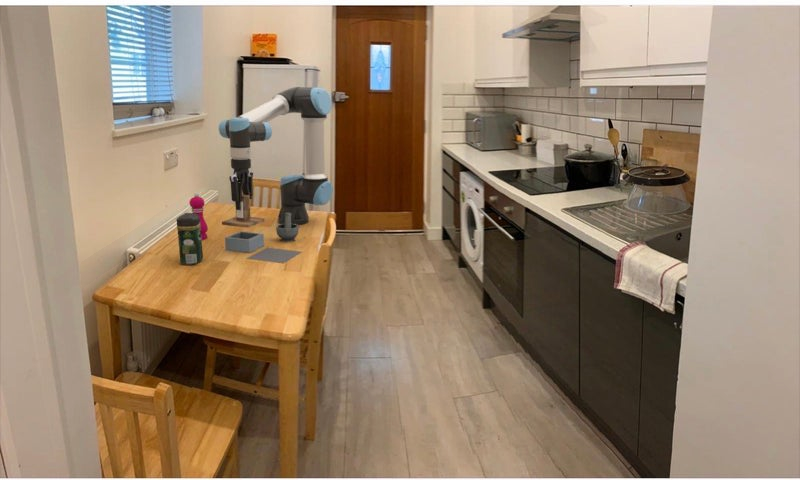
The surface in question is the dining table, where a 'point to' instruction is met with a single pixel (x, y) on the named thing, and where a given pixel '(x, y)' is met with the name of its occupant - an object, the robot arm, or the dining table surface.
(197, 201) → the pepper mill
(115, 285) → the dining table surface
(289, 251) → the mat
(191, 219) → the coffee jar
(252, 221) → the lid
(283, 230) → the mortar and pestle
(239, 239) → the blue-grey square box
